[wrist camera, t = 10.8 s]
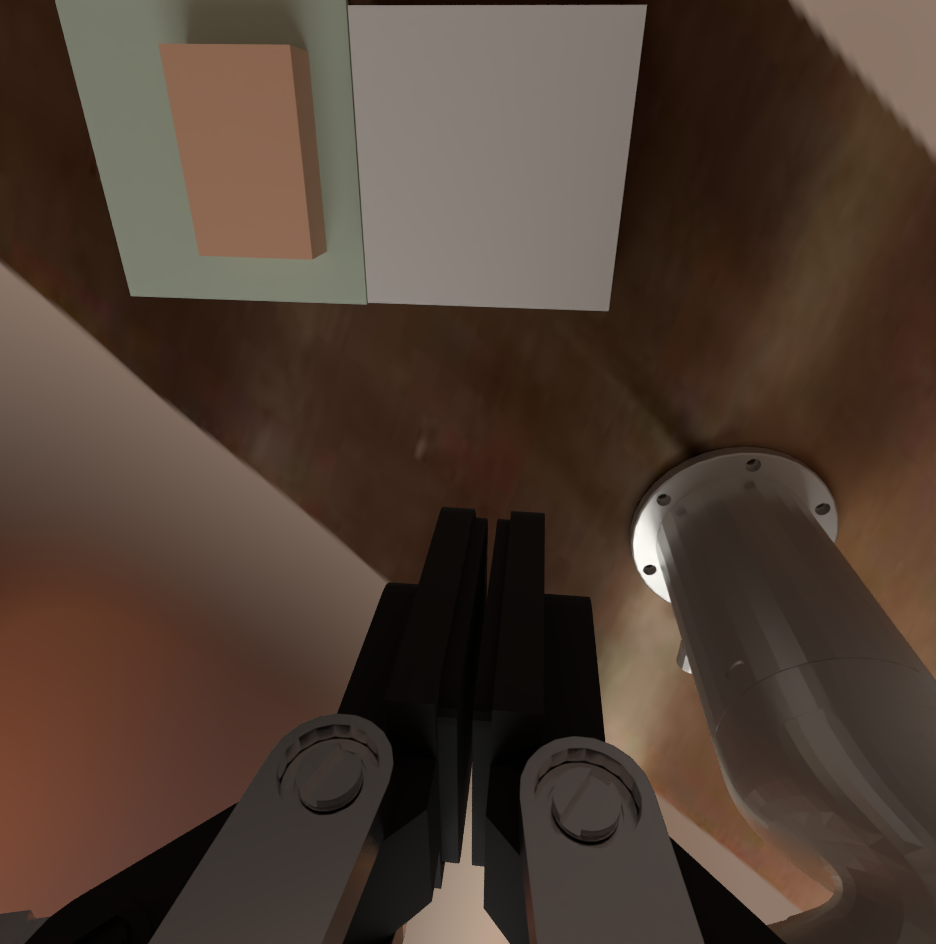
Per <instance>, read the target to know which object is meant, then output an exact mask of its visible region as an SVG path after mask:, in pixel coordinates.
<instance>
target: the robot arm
mask: <svg viewBox="0 0 936 944" xmlns="http://www.w3.org/2000/svg"><path fill="white" fill-rule="evenodd" d="M751 459H752V460H751ZM749 460H751V461H749ZM661 494H663V495H661ZM837 534H838V511H837V507H836V504H835V500H834V498H833V496H832V494H831V493H830V491H829V489H828V487H827V486H826V484H825V483H824V482H823V481H822V480H821V479H820V477H819V476H818V475H817V474H816V473H815V472H814V471H813V470H812V469H810V468H809V467H808V466H807V465H805V464H804V463H803V462H802V461H800V460H798V459H796V458H794V457H792V456H790V455H788V454H786V453H782V452H778V451H775V450H771V449H768V448H758V447H747V446H746V447H732V448H723V449H719V450H715V451H710V452H706V453H703V454H701V455H698V456H696V457H693V458H691V459H688V460H686V461H684V462H683V463H681V464H679V465H678V466H676V467H674V468H673V469H671V470H669V471H668V472H667V473H666V474H664V475H663V476H662V477H661V478H660V479H659V480H657V481H656V482H655V483H654V484H653V485H652V486H651V488H650V489H649V490H648V491H647V493H646V494H645V495H644V496H643V498H642V499H641V501H640V503H639V505H638V507H637V509H636V510H635V513H634V516H633V520H632V523H631V527H630V547H631V552H632V557H633V560H634V563H635V567H636V570H637V571H638V573H639V575H640V576H641V578H642V580H643V581H644V583H645V584H646V585H647V586H648V587H649V588H650V589H651V590H652V591H653V592H654V593H655V594H657V595H658V596H659V597H661V598H662V599H664V600H665V601H667V602H669V603H671V605H672V608H673V611H674V615H675V618H676V621H677V625H678V628H679V631H680V635H681V638H682V640H681V643H680V647H679V651H678V655H677V659H676V660H677V664H678V666H679V667H680V668H681V669H682V670H684V671H686V672H688V673H692V675H693V679H694V682H695V685H696V689H697V692H698V695H699V699H700V702H701V705H702V709H703V712H704V716H705V719H706V722H707V726H708V729H709V732H710V736H711V739H712V742H713V746H714V749H715V752H716V756H717V759H718V762H719V765H720V769H721V772H722V775H723V778H724V781H725V784H726V786H727V789H728V792H729V794H730V796H731V798H732V800H733V801H734V803H735V805H736V807H737V809H738V810H739V812H740V813H741V815H742V816H743V817H744V819H745V820H746V821H747V823H748V824H749V825H750V827H751V828H752V829H753V830H754V831H755V833H756V834H757V835H758V836H759V837H760V838H761V839H763V840H764V841H765V842H766V843H767V844H768V845H769V846H770V847H771V848H772V849H773V850H774V851H776V852H777V853H778V854H779V855H781V856H782V857H783V858H784V859H786V860H787V861H788V862H790V863H791V864H792V865H793V866H795V867H796V868H798V869H799V870H801V871H802V872H803V873H805V874H806V875H808V876H809V877H811V878H812V879H814V880H815V881H816V882H818V883H819V884H821V885H822V886H824V887H825V888H827V889H828V890H830V891H831V892H833V893H834V894H833V896H832V897H831V898H830V900H829V901H827V902H826V903H824V904H823V905H821V906H819V907H817V908H814V909H811V910H808V911H805V912H802V913H800V914H797V915H793V916H790V917H788V918H787V919H786V920H784V921H780V922H777V923H773V924H770V925H765V924H764V923H763V922H762V921H761V920H760V919H759V918H758V917H757V916H756V915H755V914H753V913H752V912H751V911H750V910H749V909H748V908H747V907H746V906H745V905H744V904H743V903H741V902H740V901H739V900H738V899H737V898H736V897H735V896H734V895H733V894H732V893H731V892H729V891H728V890H727V889H726V888H725V887H724V886H723V885H722V884H721V883H720V882H719V881H717V880H716V879H715V878H714V877H713V876H712V875H711V874H710V873H709V872H708V871H707V870H706V869H704V868H703V867H702V866H701V865H700V864H699V863H698V862H697V861H696V860H695V859H694V858H692V857H691V856H690V855H689V854H688V853H687V852H686V851H685V850H684V849H683V848H682V847H680V846H679V845H678V844H677V843H676V842H675V841H674V840H673V839H672V838H670V836H669V835H668V832H667V829H666V826H665V822H664V819H663V816H662V814H661V810H660V807H659V804H658V801H657V798H656V795H655V792H654V790H653V788H652V786H651V784H650V782H649V780H648V778H647V776H646V774H645V772H644V771H643V770H642V769H641V768H640V767H639V766H638V765H637V764H636V762H635V761H634V760H633V759H632V758H631V757H630V756H628V755H627V754H625V753H624V752H622V751H621V750H619V749H618V748H616V747H615V746H613V745H611V744H608V743H605V734H604V724H603V714H602V704H601V694H600V684H599V674H598V664H597V654H596V644H595V635H594V625H593V615H592V605H591V600H590V597H581V596H568V595H554V594H544V544H545V514H544V513H534V512H517V511H511V519H510V520H504V519H498V521H497V528H496V535H495V543H494V550H493V558H492V565H491V573H490V580H489V588H488V595H487V544H488V519H487V518H476V511H475V509H467V508H450V507H442V508H441V511H440V514H439V518H438V521H437V524H436V528H435V531H434V534H433V538H432V541H431V544H430V548H429V551H428V555H427V558H426V561H425V565H424V568H423V571H422V575H421V578H420V581H419V585H417V584H403V583H390V582H389V583H388V584H387V585H386V586H385V588H384V590H383V592H382V595H381V598H380V601H379V603H378V606H377V609H376V611H375V614H374V617H373V620H372V622H371V625H370V627H369V630H368V633H367V635H366V638H365V641H364V643H363V646H362V649H361V651H360V654H359V657H358V659H357V662H356V665H355V667H354V670H353V673H352V675H351V678H350V681H349V684H348V686H347V689H346V692H345V694H344V697H343V699H342V702H341V705H340V707H339V710H338V713H337V714H332V715H327V716H320V717H317V718H314V719H312V720H310V721H307V722H305V723H302V724H300V725H299V726H297V727H296V728H295V729H293V730H292V731H290V732H289V733H288V734H286V735H285V736H284V737H283V738H282V739H281V740H280V741H279V743H278V744H277V745H276V746H275V748H274V749H273V750H272V751H271V752H270V754H269V755H268V757H267V759H266V760H265V762H264V763H263V765H262V766H261V768H260V769H259V771H258V773H257V774H256V776H255V777H254V779H253V780H252V782H251V784H250V785H249V787H248V788H247V790H246V791H245V793H244V794H243V796H242V798H241V799H240V801H239V802H238V803H236V804H234V805H232V806H231V807H229V808H227V809H226V810H224V811H222V812H221V813H219V814H217V815H216V816H214V817H212V818H211V819H209V820H207V821H206V822H204V823H202V824H200V825H199V826H197V827H195V828H194V829H192V830H190V831H189V832H187V833H185V834H184V835H182V836H180V837H179V838H177V839H175V840H174V841H172V842H170V843H169V844H167V845H166V846H164V847H162V848H160V849H158V850H157V851H155V852H153V853H152V854H150V855H148V856H147V857H145V858H143V859H142V860H140V861H138V862H137V863H135V864H133V865H132V866H130V867H128V868H126V869H125V870H123V871H121V872H120V873H118V874H117V875H115V876H113V877H111V878H110V879H108V880H106V881H105V882H103V883H101V884H100V885H98V886H96V887H94V888H93V889H91V890H89V891H88V892H86V893H85V894H83V895H81V896H79V897H78V898H76V899H74V900H73V901H71V902H70V903H69V904H67V905H66V906H65V907H63V908H62V909H60V910H59V911H58V912H57V913H55V914H54V915H52V916H51V917H45V918H38V919H36V917H35V916H34V914H33V913H32V911H31V910H27V911H19V912H11V913H4V914H0V944H402V943H403V940H404V935H405V930H406V924H407V922H408V921H409V920H410V919H411V918H413V916H415V915H416V914H417V913H419V912H420V911H421V910H422V909H423V908H424V907H426V906H427V905H428V904H429V903H430V902H431V901H432V897H433V890H434V888H439V889H441V886H442V879H443V871H444V865H445V862H450V863H459V862H460V857H461V850H462V842H463V834H464V825H465V817H466V809H467V801H468V793H469V784H470V776H471V768H472V865H475V866H484V867H485V872H484V876H485V877H484V909H485V910H486V912H487V913H488V914H489V916H490V917H491V919H492V920H493V921H494V922H495V924H496V925H497V926H498V928H499V929H500V931H501V932H502V933H503V935H504V936H505V937H506V939H507V940H508V942H509V943H510V944H936V680H935V679H934V677H933V676H932V675H931V673H930V672H929V671H928V669H927V668H926V666H925V665H924V664H923V662H922V661H921V660H920V658H919V657H918V656H917V654H916V653H915V652H914V650H913V649H912V648H911V646H910V645H909V644H908V642H907V641H906V639H905V638H904V637H903V635H902V634H901V633H900V631H899V630H898V629H897V627H896V626H895V625H894V623H893V622H892V621H891V619H890V618H889V617H888V615H887V614H886V613H885V611H884V610H883V608H882V607H881V606H880V604H879V603H878V602H877V600H876V599H875V598H874V596H873V595H872V594H871V592H870V591H869V590H868V588H867V587H866V586H865V584H864V583H863V581H862V580H861V579H860V577H859V576H858V575H857V573H856V572H855V571H854V569H853V568H852V567H851V565H850V564H849V563H848V561H847V560H846V559H845V557H844V556H843V555H842V553H841V552H840V550H839V549H838V548H837V546H836V545H835V542H836V538H837ZM486 599H487V603H486Z"/></svg>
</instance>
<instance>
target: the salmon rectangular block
mask: <svg viewBox="0 0 936 944" xmlns="http://www.w3.org/2000/svg"><path fill="white" fill-rule="evenodd" d="M158 45H159V50H160V55H161V60H162V65H163V70H164V76H165V81H166V86H167V91H168V96H169V102H170V107H171V112H172V117H173V122H174V128H175V133H176V138H177V143H178V148H179V154H180V159H181V164H182V169H183V174H184V180H185V185H186V190H187V195H188V200H189V206H190V211H191V216H192V221H193V226H194V231H195V237H196V242H197V247H198V252H199V256H219V257H249V258H278V259H307V260H313V259H315V258H316V257H318V256H320V255H322V254H323V253H325V252H327V246H326V236H325V225H324V214H323V204H322V193H321V182H320V171H319V161H318V150H317V139H316V129H315V118H314V107H313V97H312V86H311V75H310V65H309V54H308V51H305V50H303V49H300V48H297V47H295V46H292V45H271V44H158Z"/></svg>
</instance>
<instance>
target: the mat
mask: <svg viewBox="0 0 936 944" xmlns="http://www.w3.org/2000/svg"><path fill="white" fill-rule="evenodd" d="M55 2H56V6H57V10H58V14H59V18H60V22H61V25H62V29H63V33H64V37H65V41H66V45H67V49H68V53H69V57H70V61H71V64H72V68H73V72H74V76H75V80H76V84H77V88H78V92H79V96H80V100H81V103H82V107H83V111H84V115H85V119H86V123H87V127H88V131H89V135H90V139H91V142H92V146H93V150H94V154H95V158H96V162H97V166H98V170H99V174H100V178H101V181H102V185H103V189H104V193H105V197H106V201H107V205H108V209H109V213H110V217H111V220H112V224H113V228H114V232H115V236H116V240H117V244H118V248H119V252H120V256H121V259H122V263H123V267H124V271H125V275H126V279H127V283H128V287H129V291H130V295H131V296H144V297H172V298H200V299H228V300H256V301H284V302H312V303H340V304H368V298H367V283H366V268H365V254H364V239H363V224H362V209H361V195H360V180H359V165H358V151H357V136H356V121H355V106H354V92H353V77H352V62H351V47H350V33H349V18H348V0H55ZM158 44H271V45H292V46H295V47H297V48H300V49H303V50H305V51H308V54H309V65H310V75H311V86H312V97H313V107H314V118H315V129H316V139H317V150H318V161H319V171H320V182H321V193H322V204H323V214H324V225H325V236H326V246H327V252H325V253H323V254H322V255H320V256H318V257H316V258H315V259H313V260H307V259H278V258H249V257H219V256H199V252H198V247H197V242H196V237H195V231H194V226H193V221H192V216H191V211H190V206H189V200H188V195H187V190H186V185H185V180H184V174H183V169H182V164H181V159H180V154H179V148H178V143H177V138H176V133H175V128H174V122H173V117H172V112H171V107H170V102H169V96H168V91H167V86H166V81H165V76H164V70H163V65H162V60H161V55H160V50H159V45H158Z"/></svg>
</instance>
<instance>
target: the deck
mask: <svg viewBox="0 0 936 944" xmlns="http://www.w3.org/2000/svg"><path fill="white" fill-rule="evenodd" d="M646 9H647V5H348V18H349V33H350V47H351V62H352V77H353V92H354V106H355V121H356V136H357V151H358V165H359V180H360V195H361V209H362V224H363V239H364V254H365V268H366V283H367V298H368V303H395V304H423V305H451V306H479V307H507V308H535V309H563V310H591V311H609V303H610V295H611V287H612V280H613V272H614V264H615V256H616V248H617V240H618V232H619V224H620V216H621V208H622V200H623V192H624V184H625V176H626V168H627V160H628V152H629V145H630V137H631V129H632V121H633V113H634V105H635V97H636V89H637V81H638V73H639V65H640V57H641V49H642V41H643V33H644V25H645V17H646Z"/></svg>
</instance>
